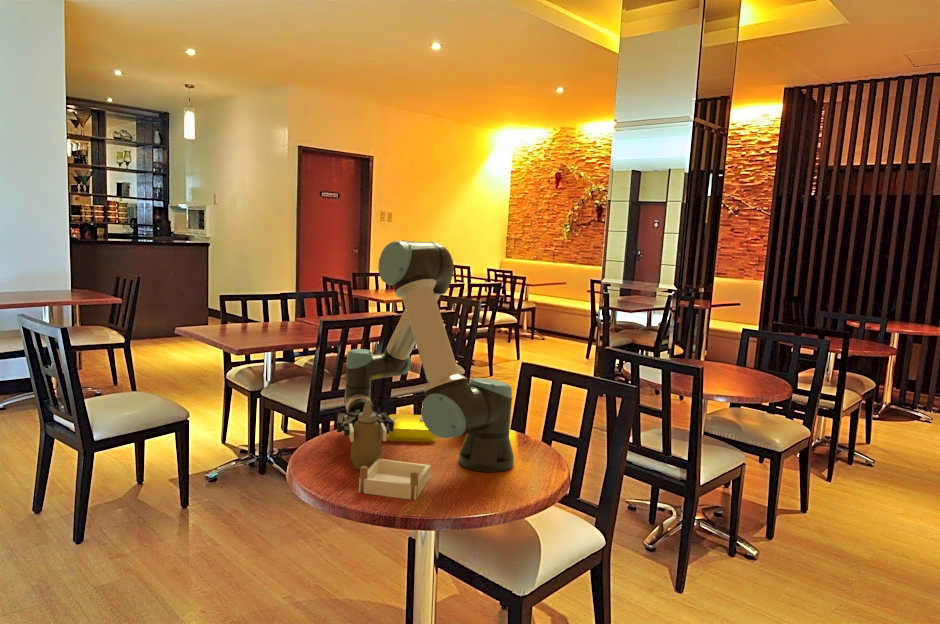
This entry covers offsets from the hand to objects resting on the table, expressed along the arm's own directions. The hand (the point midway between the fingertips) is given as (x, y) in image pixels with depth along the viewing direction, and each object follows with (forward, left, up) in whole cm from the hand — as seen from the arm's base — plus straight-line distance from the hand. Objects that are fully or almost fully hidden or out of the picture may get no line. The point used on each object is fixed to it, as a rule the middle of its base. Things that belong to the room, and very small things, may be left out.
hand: (368, 436), depth 164 cm
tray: (-9, +5, -10) cm, 14 cm away
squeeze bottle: (+2, -4, -10) cm, 11 cm away
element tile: (-2, -35, -11) cm, 37 cm away
